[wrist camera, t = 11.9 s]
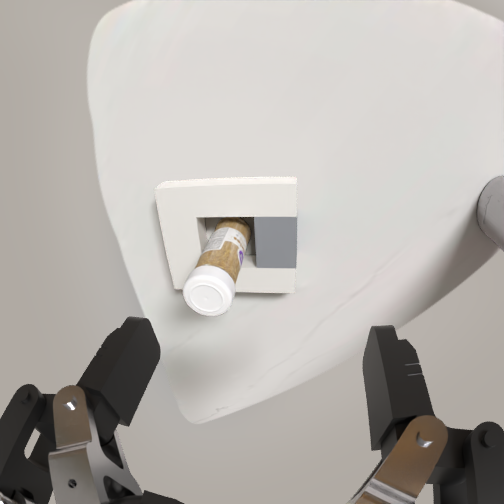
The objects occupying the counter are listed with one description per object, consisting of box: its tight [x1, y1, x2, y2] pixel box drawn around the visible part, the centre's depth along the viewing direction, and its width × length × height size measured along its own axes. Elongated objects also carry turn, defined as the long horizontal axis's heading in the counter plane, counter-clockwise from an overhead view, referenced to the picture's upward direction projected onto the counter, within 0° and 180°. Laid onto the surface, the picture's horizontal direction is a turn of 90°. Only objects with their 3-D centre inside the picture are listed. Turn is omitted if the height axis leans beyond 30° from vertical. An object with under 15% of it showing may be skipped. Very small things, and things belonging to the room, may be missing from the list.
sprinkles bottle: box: [183, 217, 251, 316], centre depth 31 cm, size 5×5×13 cm
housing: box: [154, 177, 297, 293], centre depth 35 cm, size 16×14×3 cm
